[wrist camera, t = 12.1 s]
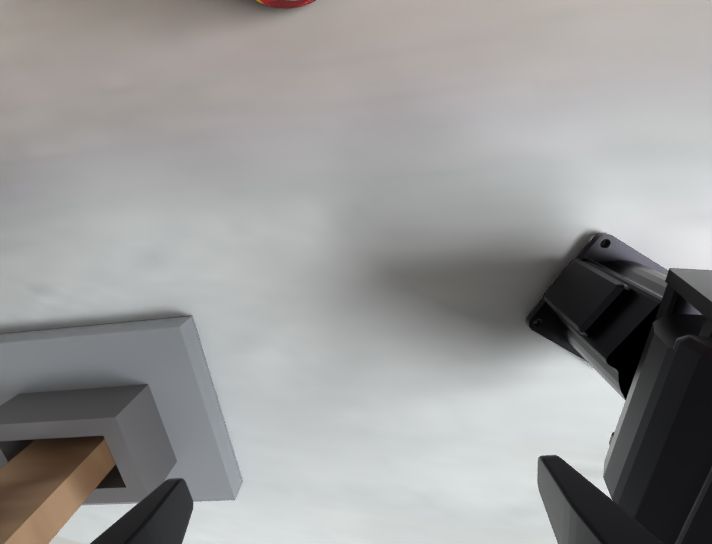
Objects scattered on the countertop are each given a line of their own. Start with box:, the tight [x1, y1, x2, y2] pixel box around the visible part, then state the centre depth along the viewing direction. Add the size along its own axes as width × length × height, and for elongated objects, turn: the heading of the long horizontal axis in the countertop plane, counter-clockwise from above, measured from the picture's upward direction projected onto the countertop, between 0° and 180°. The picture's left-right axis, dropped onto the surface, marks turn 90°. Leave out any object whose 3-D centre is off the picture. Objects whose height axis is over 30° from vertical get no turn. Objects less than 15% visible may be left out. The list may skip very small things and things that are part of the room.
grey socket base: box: [0, 316, 243, 505], centre depth 24 cm, size 16×14×4 cm
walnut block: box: [0, 436, 116, 544], centre depth 20 cm, size 5×2×10 cm, turn 97°
